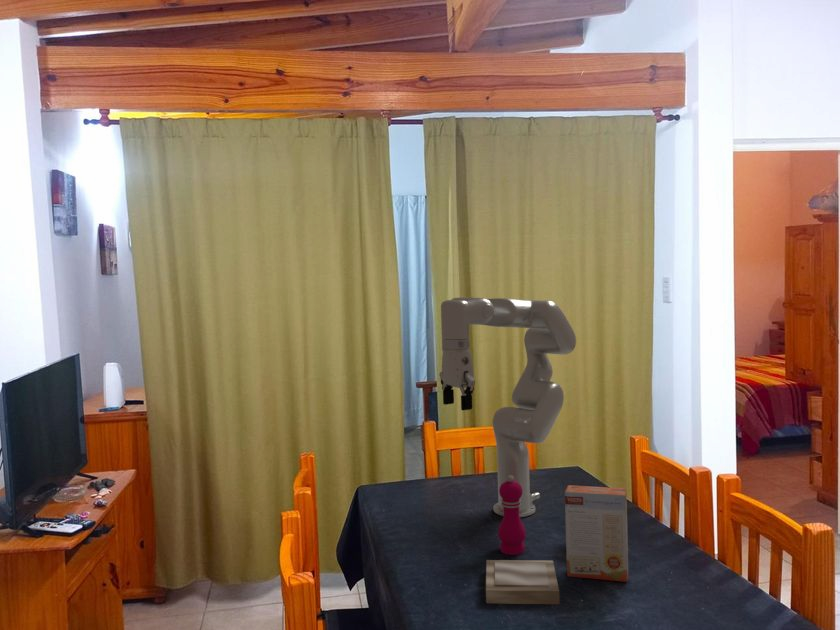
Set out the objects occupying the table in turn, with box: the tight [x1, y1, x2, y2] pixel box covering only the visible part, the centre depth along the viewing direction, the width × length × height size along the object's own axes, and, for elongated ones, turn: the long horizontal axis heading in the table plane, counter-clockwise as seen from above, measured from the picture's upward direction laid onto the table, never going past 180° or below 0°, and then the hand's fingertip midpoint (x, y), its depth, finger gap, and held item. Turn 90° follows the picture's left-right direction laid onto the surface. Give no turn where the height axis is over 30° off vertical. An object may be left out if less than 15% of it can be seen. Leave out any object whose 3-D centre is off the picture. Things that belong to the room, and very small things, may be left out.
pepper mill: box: [497, 475, 527, 556], centre depth 186 cm, size 7×7×20 cm
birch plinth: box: [485, 559, 560, 605], centre depth 165 cm, size 16×16×3 cm
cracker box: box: [564, 484, 629, 583], centre depth 170 cm, size 14×6×21 cm, turn 71°
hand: (457, 406), depth 197 cm, fingers open, 9 cm apart
